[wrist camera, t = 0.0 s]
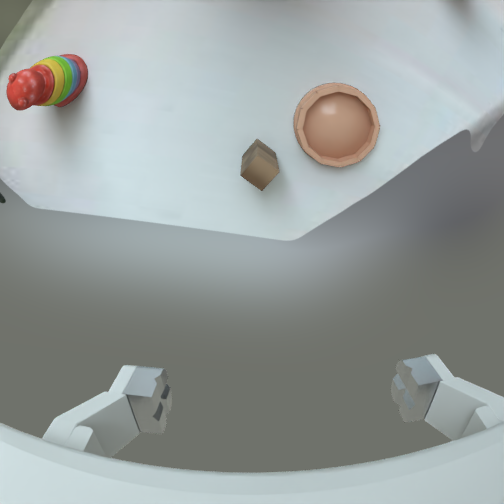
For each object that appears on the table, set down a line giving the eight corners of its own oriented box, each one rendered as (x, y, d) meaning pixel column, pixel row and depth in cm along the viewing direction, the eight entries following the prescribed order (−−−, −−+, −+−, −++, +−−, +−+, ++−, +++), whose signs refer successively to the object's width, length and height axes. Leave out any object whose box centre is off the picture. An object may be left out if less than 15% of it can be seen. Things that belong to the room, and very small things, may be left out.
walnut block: (257, 138, 56) (257, 155, 48) (275, 152, 58) (279, 171, 50) (242, 155, 58) (240, 175, 50) (260, 169, 60) (261, 191, 52)
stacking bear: (42, 65, 44) (-15, 80, 30) (80, 42, 43) (25, 48, 28) (57, 109, 50) (4, 136, 36) (95, 89, 49) (44, 109, 35)
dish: (333, 65, 47) (337, 66, 45) (391, 123, 53) (397, 127, 51) (275, 127, 55) (276, 131, 52) (336, 179, 61) (340, 184, 58)
